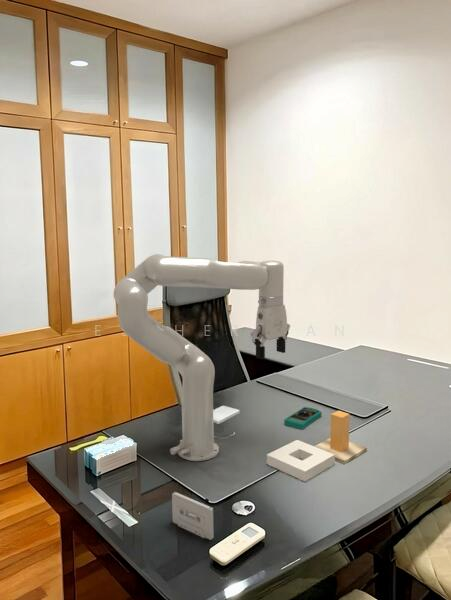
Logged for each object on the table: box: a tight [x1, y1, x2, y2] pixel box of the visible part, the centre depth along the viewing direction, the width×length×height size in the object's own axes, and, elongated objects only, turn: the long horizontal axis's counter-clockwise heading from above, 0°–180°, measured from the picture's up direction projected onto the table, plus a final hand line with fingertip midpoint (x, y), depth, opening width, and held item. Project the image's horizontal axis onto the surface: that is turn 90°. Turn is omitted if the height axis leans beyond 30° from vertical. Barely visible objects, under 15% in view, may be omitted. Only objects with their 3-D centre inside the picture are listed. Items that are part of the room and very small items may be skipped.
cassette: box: [171, 491, 215, 541], centre depth 123 cm, size 12×2×8 cm, turn 53°
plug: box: [329, 410, 351, 452], centre depth 161 cm, size 4×4×11 cm
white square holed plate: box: [266, 439, 336, 482], centre depth 154 cm, size 14×14×3 cm
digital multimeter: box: [283, 406, 322, 430], centre depth 186 cm, size 7×15×3 cm, turn 143°
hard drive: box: [213, 405, 241, 425], centre depth 191 cm, size 2×8×12 cm
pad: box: [313, 437, 368, 465], centre depth 162 cm, size 12×12×1 cm
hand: (270, 355), depth 166 cm, fingers open, 9 cm apart
